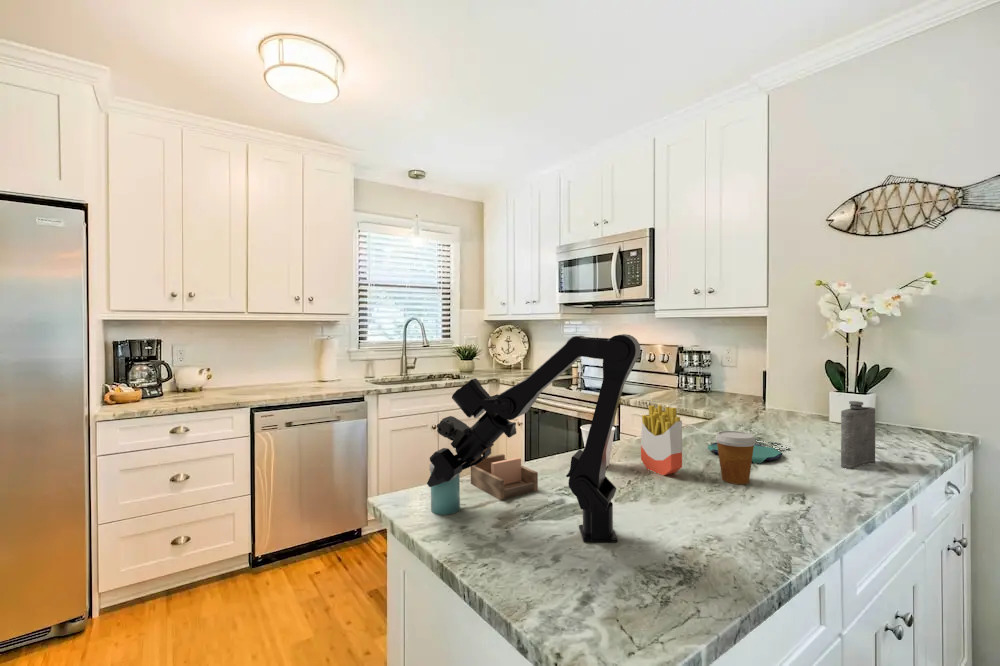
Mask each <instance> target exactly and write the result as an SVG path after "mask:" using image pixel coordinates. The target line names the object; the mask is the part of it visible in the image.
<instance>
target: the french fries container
mask: <svg viewBox="0 0 1000 666" xmlns="http://www.w3.org/2000/svg"><path fill="white" fill-rule="evenodd" d="M664 410H665V411H663V405H661V404H659V405H657V408H656V407H655V405H648V414H645V415H644V414H643V415H641V419H642V421H641V438H640V460H641V461H642V463H643V465H644V466H645V468H646V470H648V469H649V470H652V471H654V472H656V473H655V474H657V473H659V474H661V475H660V476H662V475H665V476H669V475H673V474H672V473H674V474H676V473H677V471H679V470H681V468H683V420H681V417H680V416H677V407H670V406H666V407H664ZM654 472H653V473H654ZM659 474H658V475H659ZM668 474H669V475H668Z"/></svg>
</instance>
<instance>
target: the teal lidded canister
mask: <svg viewBox="0 0 1000 666" xmlns="http://www.w3.org/2000/svg"><path fill="white" fill-rule="evenodd" d="M433 469H434V465H433V464H432V463H431V462H430V463H429V471H430V473H429V474H430V475H431V474H432V471H433ZM460 481H461V480H460V474H459V475H458V476H456V477H455V478H454V479H452V480H451V481H449V482H444V483H441V484H438V485H435V486H432V487H430V512H431V513H432V514H435V515H439V516H448V515H453V514H456V513H458V512H459V511H460V509H461V501H460V500H461V496H460V495H461V492H460V491H461V490H460V489H461V488H460Z"/></svg>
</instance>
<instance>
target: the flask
mask: <svg viewBox="0 0 1000 666" xmlns="http://www.w3.org/2000/svg"><path fill="white" fill-rule="evenodd" d="M848 403H849V408H847V409H843V410H841V412H840V413H841V414H840V417H841V418H840V422H841V423H840V431H841V432H840V467H841V468H842V469H845V468H846V469H845V470H854V469H856V468H858V467H861V466H864V465H863V464H865V465H869V464H868V463H871V464H876V407H872V406H871V407H870V406H864V402H863V401H860V400H859V401H857V400H850V401H848ZM860 465H861V466H860ZM855 467H856V468H855Z"/></svg>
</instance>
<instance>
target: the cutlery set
mask: <svg viewBox="0 0 1000 666" xmlns="http://www.w3.org/2000/svg"><path fill="white" fill-rule="evenodd" d="M754 439H755V440H757V441H763V442H764V441H765V440H760V439H757V438H754ZM757 441H756V443H755V445H754V448H753V456H752V464H754V463H759V464H761V463H763V462H764V461H773V460H776V459H779V458H781V457H782V456H783V453H784V452H782V451H785V452H786V451H788V450H790V448H788V449H787V450H780V449H783V448H780V447H778V448H779V449H775V448H777V447H775V448H773V446H772V445H774V444H777V445H781V444H782V443H780V442H771V441H767V442H768V443H773V444H770V446H772V447H770V446H766V445H768V444H766V443H761V442H757ZM758 443H759V444H758ZM762 444H765V445H762ZM777 445H774V446H777ZM781 447H783V446H781ZM786 448H787V447H786ZM707 449H708V450H709V451H710V452H711V453H714V452H715V453H717V454H718V446H717V442H713V443H711V444H709V445H707ZM778 450H780V451H778ZM759 464H758V465H759Z"/></svg>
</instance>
